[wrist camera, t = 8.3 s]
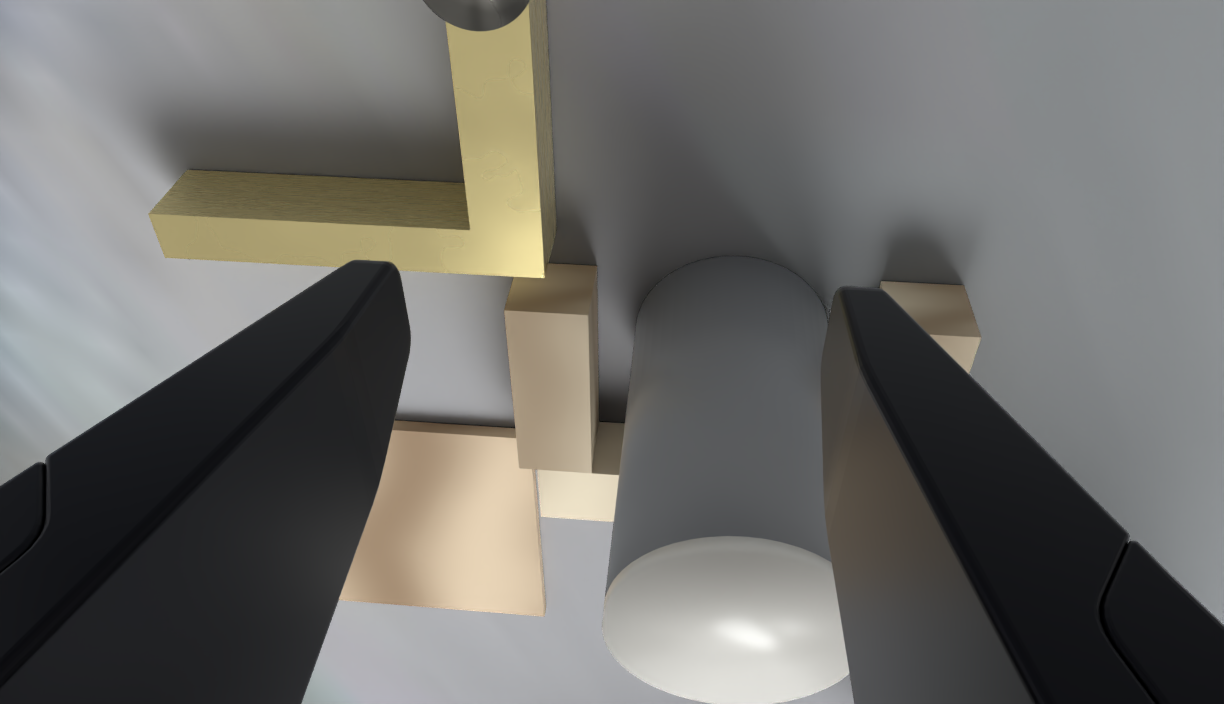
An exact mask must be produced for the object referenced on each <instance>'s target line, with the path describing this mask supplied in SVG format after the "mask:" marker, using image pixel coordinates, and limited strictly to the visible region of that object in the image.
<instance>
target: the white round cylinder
mask: <svg viewBox="0 0 1224 704" xmlns="http://www.w3.org/2000/svg"><path fill="white" fill-rule="evenodd" d="M827 328H828V320H827V316H826V312H825V309H824V307H823V305H822V302H821V300H820V299H819V297H818V296H817V294H816V293H815V291H814V290H813V289H812V288H811V287H810V286H809V285H808V284H807V283H806V282H805V281H804V280H803V279H802V278H800V277H799V276H798V275H796V274H795V273H793V272H791V271H790V270H788V269H786V268H784V267H782V266H780V265H778V264H775V263H772V262H769V261H766V260H762V259H757V258H753V257H743V256H722V257H713V258H708V259H704V260H699V261H696V262H694V263H691V264H688V265H686V266H683V267H681V268H679V269H677V270H675V271H674V272H672V273H671V274H669V275H668V276H666V277H665V278H664V279H662V280H661V281H660V282H659V283H658V284H657V285H656V286H655V287H654V288H653V289H652V290H651V291H650V292H649V294H648V295H647V297H646V298H645V300H644V301H643V304H642V306H641V308H640V310H639V313H638V317H637V322H636V330H635V339H634V348H633V357H632V366H631V374H630V383H629V392H628V401H627V409H626V418H625V427H624V436H623V444H622V453H621V462H620V471H619V480H618V488H617V497H616V506H615V515H614V523H613V532H612V541H611V550H610V559H609V567H608V576H607V585H606V594H605V602H604V611H603V620H602V631H603V637H604V640H605V643H606V646H607V647H608V649H609V651H610V652H611V654H612V655H613V657H614V658H615V659H616V660H617V661H618V663H619V664H620V665H622V666H623V667H624V668H625V669H626V670H627V671H628V672H630V673H631V674H632V675H634V676H635V677H637V678H638V679H640V680H642V681H643V682H645V683H647V684H649V685H651V686H653V687H655V688H657V689H660V690H662V691H664V692H667V693H670V694H673V695H676V696H679V697H683V698H687V699H691V700H695V701H701V702H706V703H713V704H774V703H780V702H786V701H791V700H795V699H799V698H803V697H806V696H809V695H812V694H815V693H817V692H820V691H822V690H824V689H827V688H829V687H830V686H832V685H834V684H836V683H837V682H839V681H841V680H842V679H843V678H845V677H846V676H847V675H849V674H850V673H849V667H848V661H847V655H846V649H845V642H844V636H843V630H842V624H841V618H840V611H839V605H838V599H837V593H836V587H835V580H834V574H833V568H832V562H831V556H830V549H829V543H828V536H827V528H826V520H825V508H824V489H823V452H822V414H821V361H822V354H823V348H824V343H825V338H826V333H827Z"/></svg>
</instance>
